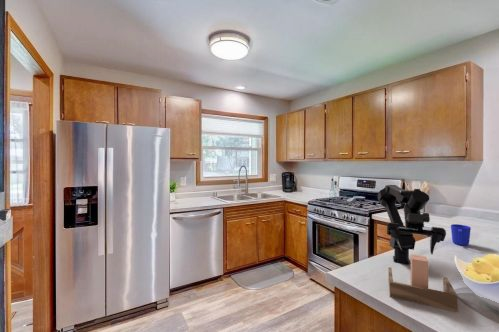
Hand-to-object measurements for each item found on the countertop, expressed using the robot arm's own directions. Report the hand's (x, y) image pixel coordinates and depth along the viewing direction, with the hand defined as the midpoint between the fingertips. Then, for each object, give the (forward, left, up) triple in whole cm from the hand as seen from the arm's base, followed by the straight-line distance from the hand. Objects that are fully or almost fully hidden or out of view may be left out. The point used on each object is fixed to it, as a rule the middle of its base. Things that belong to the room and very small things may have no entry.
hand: (416, 251), depth 88 cm
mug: (-61, +27, -13) cm, 68 cm away
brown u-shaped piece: (+6, 0, -13) cm, 14 cm away
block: (+7, 0, -13) cm, 14 cm away
